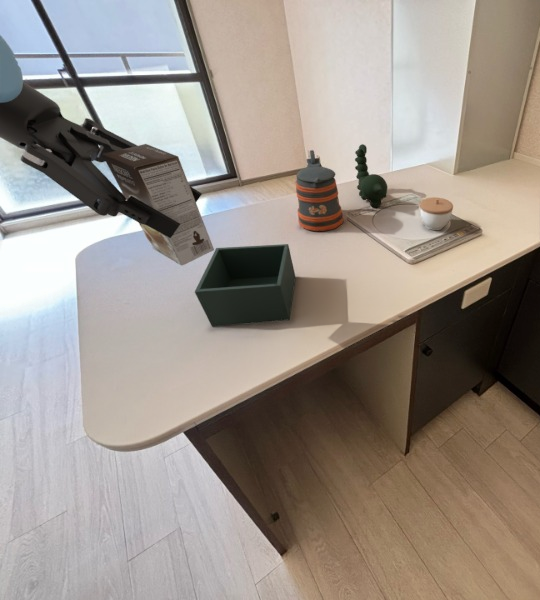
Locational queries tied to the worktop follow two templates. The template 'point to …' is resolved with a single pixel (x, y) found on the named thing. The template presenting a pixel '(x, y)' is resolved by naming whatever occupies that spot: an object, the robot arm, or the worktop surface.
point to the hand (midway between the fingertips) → (187, 214)
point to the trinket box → (435, 212)
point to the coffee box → (162, 199)
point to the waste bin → (247, 285)
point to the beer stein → (318, 197)
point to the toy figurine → (369, 180)
